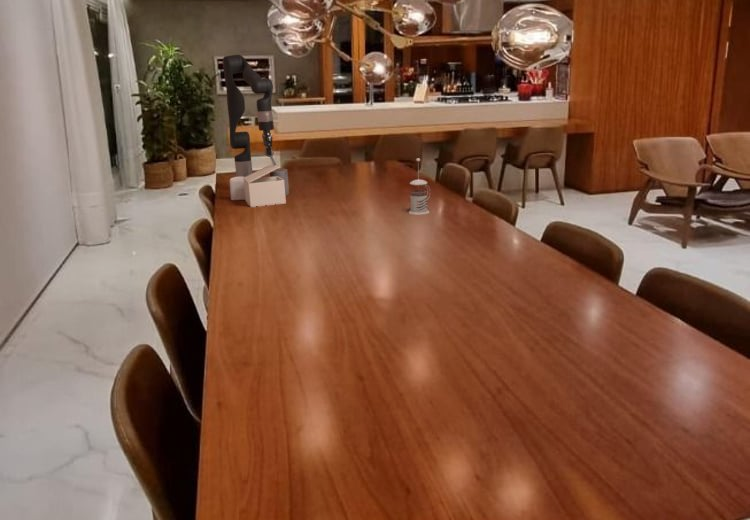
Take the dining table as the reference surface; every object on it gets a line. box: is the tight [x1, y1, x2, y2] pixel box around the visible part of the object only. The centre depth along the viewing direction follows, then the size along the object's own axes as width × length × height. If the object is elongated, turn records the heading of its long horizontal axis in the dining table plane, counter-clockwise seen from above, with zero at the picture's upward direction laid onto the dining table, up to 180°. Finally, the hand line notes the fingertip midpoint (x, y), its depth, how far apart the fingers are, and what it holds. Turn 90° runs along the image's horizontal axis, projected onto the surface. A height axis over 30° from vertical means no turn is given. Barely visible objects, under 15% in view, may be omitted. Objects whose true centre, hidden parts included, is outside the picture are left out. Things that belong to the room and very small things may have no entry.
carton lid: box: [243, 148, 281, 183], centre depth 323 cm, size 14×19×10 cm
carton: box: [244, 176, 287, 208], centre depth 328 cm, size 14×18×12 cm
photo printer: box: [229, 176, 246, 201], centre depth 338 cm, size 10×4×12 cm, turn 98°
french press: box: [408, 157, 431, 216], centre depth 292 cm, size 10×12×25 cm
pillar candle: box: [269, 167, 290, 197], centre depth 347 cm, size 10×10×15 cm
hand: (269, 154), depth 323 cm, fingers closed
